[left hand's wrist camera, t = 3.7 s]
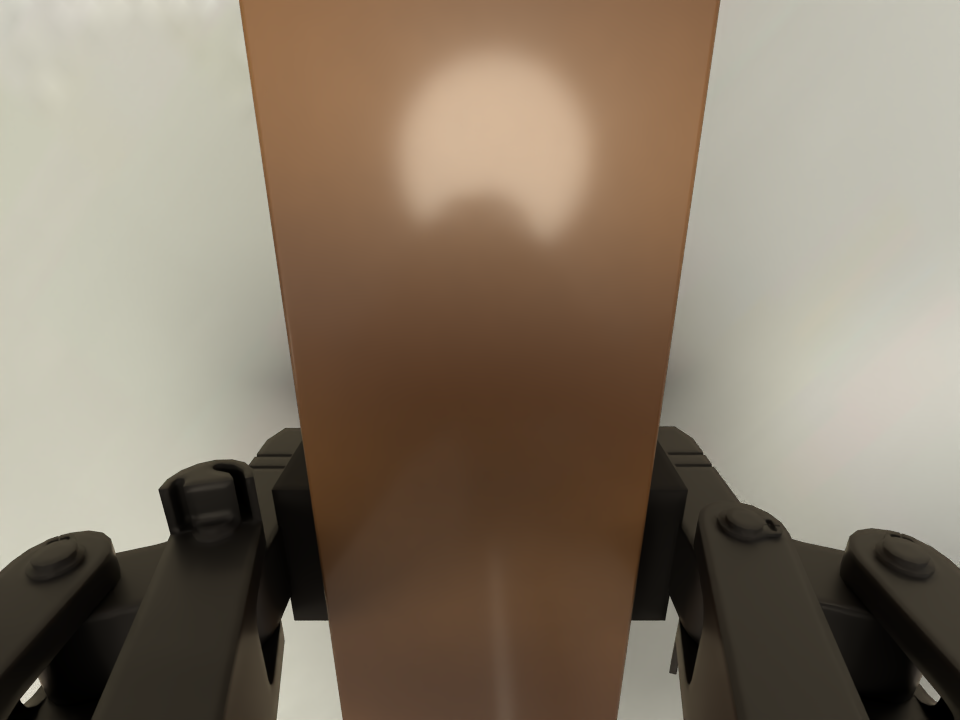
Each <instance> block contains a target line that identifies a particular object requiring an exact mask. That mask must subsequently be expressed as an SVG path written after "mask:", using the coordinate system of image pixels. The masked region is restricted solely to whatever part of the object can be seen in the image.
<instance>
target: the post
mask: <svg viewBox="0 0 960 720" xmlns="http://www.w3.org/2000/svg"><path fill="white" fill-rule="evenodd" d="M239 4H240V11H241V18H242V25H243V32H244V39H245V46H246V52H247V59H248V66H249V73H250V80H251V87H252V94H253V101H254V108H255V115H256V122H257V129H258V136H259V143H260V149H261V156H262V163H263V170H264V177H265V184H266V191H267V198H268V205H269V212H270V219H271V226H272V233H273V239H274V246H275V253H276V260H277V267H278V274H279V281H280V288H281V295H282V302H283V309H284V316H285V323H286V330H287V336H288V343H289V350H290V357H291V364H292V371H293V378H294V385H295V392H296V399H297V406H298V413H299V420H300V426H301V433H302V440H303V447H304V454H305V461H306V468H307V475H308V482H309V489H310V496H311V503H312V510H313V516H314V523H315V530H316V537H317V544H318V551H319V558H320V565H321V572H322V579H323V586H324V593H325V600H326V607H327V613H328V620H329V627H330V634H331V641H332V648H333V655H334V662H335V669H336V676H337V683H338V690H339V697H340V703H341V710H342V717H343V720H617V715H618V708H619V701H620V694H621V687H622V680H623V673H624V666H625V659H626V652H627V645H628V638H629V631H630V624H631V618H632V611H633V604H634V597H635V590H636V583H637V576H638V569H639V562H640V555H641V548H642V541H643V534H644V527H645V520H646V513H647V506H648V499H649V492H650V486H651V479H652V472H653V465H654V458H655V451H656V444H657V437H658V430H659V423H660V416H661V409H662V402H663V395H664V388H665V381H666V374H667V367H668V360H669V354H670V347H671V340H672V333H673V326H674V319H675V312H676V305H677V298H678V291H679V284H680V277H681V270H682V263H683V256H684V249H685V242H686V235H687V228H688V222H689V215H690V208H691V201H692V194H693V187H694V180H695V173H696V166H697V159H698V152H699V145H700V138H701V131H702V124H703V117H704V110H705V103H706V96H707V90H708V83H709V76H710V69H711V62H712V55H713V48H714V41H715V34H716V27H717V20H718V13H719V6H720V0H239Z"/></svg>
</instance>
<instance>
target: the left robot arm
mask: <svg viewBox="0 0 960 720" xmlns="http://www.w3.org/2000/svg"><path fill="white" fill-rule="evenodd" d="M159 494H160V497H161V501H162V505H163V508H164V512H165V516H166V519H167V523H168V527H169V530H170V534H171V535H170V537H169V539H168V542H164V543H160V544H157V545H152V546H148V547H143V548H138V549H133V550H129V551H124V552H119V553H115V550H114V547H113V544H112V541H111V539H110V538H109V537H108V536H106V535H105V534H104V533H102V532H95V531H82V532H74V533H68V534H64V535H61V536H59V537H58V536H57V537H54V538H51V539H48V540H46V541H45V542H43V543H41V544H39V545H37V546H35V547H33V548H31V549H29V550H27V551H26V552H24V553H23V554H22V555H20V556H19V557H17V558H16V559H15V560H13V561H12V562H11V563H9V564H8V565H7V566H6V567H5V568H4V569H3V570H2V571H0V720H276V719H277V709H278V700H279V690H280V680H281V671H282V661H283V651H284V642H285V640H284V634H283V628H282V622H281V618H282V615H283V613H284V611H285V608H286V606H287V604H288V601H289V599H290V598H291V603H292V609H293V615H294V620H328V613H327V607H326V600H325V593H324V586H323V579H322V572H321V565H320V558H319V551H318V544H317V537H316V530H315V523H314V516H313V510H312V503H311V496H310V489H309V482H308V475H307V468H306V461H305V454H304V447H303V440H302V433H301V428H285V429H283V430H282V431H280V432H279V433H277V434H276V435H274V436H273V437H271V438H270V439H268V440H267V441H266V442H265V444H264V445H263V447H262V448H261V449H260V451H259V452H258V453H257V457H254V459H253V460H252V461H251V463H250V464H249V465H247V464H246V463H245V462H241V461H236V460H213V461H209V462H204V463H199V464H196V465H194V466H191V467H189V468H186V469H184V470H181V471H180V472H178V473H177V474H175V475H173V476H172V477H170V478H169V479H167V480H166V481H165V483H164V484H163V485H162V486H161V487H160V488H159ZM669 596H670V597H671V600H672V602H673V604H674V607H675V609H676V611H677V614H678V616H679V622H678V628H677V633H676V638H675V643H674V649H673V654H672V659H671V665H670V672H669V673H672V674H676V673H677V668H678V669H679V679H680V689H681V698H682V708H683V718H684V720H960V568H958V567H957V566H956V565H955V564H954V563H953V562H952V561H951V560H949V559H948V558H947V557H945V556H944V555H942V554H941V553H940V552H938V551H937V550H935V549H934V548H933V547H931V546H929V545H927V544H925V543H923V542H920V541H918V540H916V539H915V538H913V537H911V536H908V535H905V534H900V533H898V532H894V531H890V530H882V529H873V528H870V529H863V530H857V531H856V532H855V533H853V534H852V535H851V536H850V537H849V540H848V543H847V546H846V549H845V551H842V550H837V549H833V548H828V547H823V546H818V545H813V544H809V543H804V542H800V541H797V540H793V539H792V538H791V536H790V534H789V532H788V531H787V530H786V528H785V527H784V526H783V524H782V523H781V522H780V521H778V520H777V519H776V518H774V517H773V516H772V515H770V514H769V513H767V512H765V511H763V510H761V509H758V508H756V507H754V506H752V505H748V504H744V503H740V502H739V500H738V499H737V498H736V496H735V495H734V494H733V492H732V491H731V489H730V488H729V487H728V485H727V484H726V483H725V481H724V480H723V479H722V477H721V476H720V475H719V473H718V472H717V471H716V469H715V468H714V467H712V464H711V462H710V461H709V460H708V458H707V457H706V456H705V455H703V452H702V450H701V449H700V448H699V446H698V445H697V443H696V442H695V441H694V439H693V438H691V437H690V436H688V435H687V434H685V433H684V432H682V431H681V430H679V429H678V428H676V427H659V430H658V437H657V444H656V451H655V458H654V465H653V472H652V479H651V486H650V492H649V499H648V506H647V513H646V520H645V527H644V534H643V541H642V548H641V555H640V562H639V569H638V576H637V583H636V590H635V597H634V604H633V611H632V618H631V620H665V618H666V613H667V607H668V601H669ZM922 675H923V676H924V677H925V678H926V679H927V680H928V682H929V683H930V684H931V685H932V686H933V688H934V689H935V690H936V691H937V692H938V694H939V695H940V696H941V698H940V700H939V701H938V702H936V701H934V700H933V699H932V698H931V697H930V696H929V695H928V694H927V693H926V691H925V690H924V689H923V688H922V686H921V685H920V684H919V682H920V679H921V677H922ZM37 678H39V680H40V683H41V687H40V688H39V689H38V690H37V692H36V693H35V694H34V695H33V696H32V697H31V698H30V699H29V700H28V701H27V702H26V703H25V704H22V703H21V701H20V698H21V697H22V696H23V695H24V694H25V692H26V691H27V690H28V689H29V688H30V686H31V685H32V684H33V683H34V681H35V680H36V679H37Z"/></svg>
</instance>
